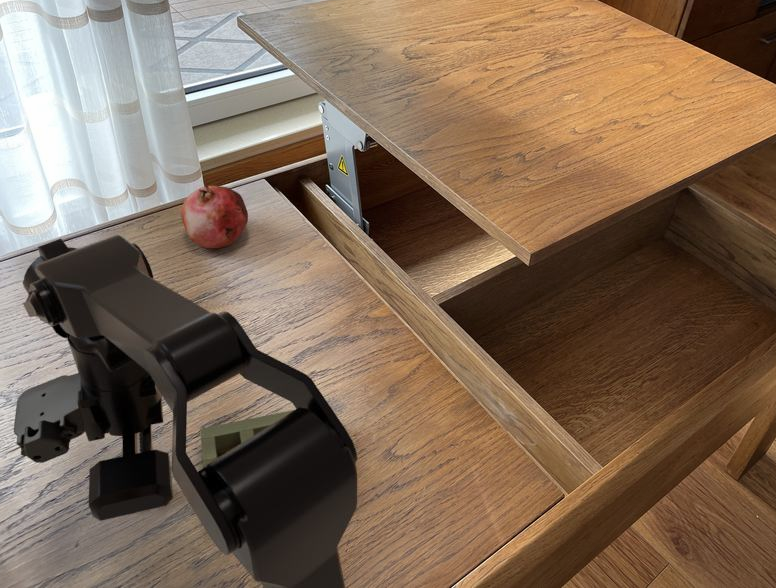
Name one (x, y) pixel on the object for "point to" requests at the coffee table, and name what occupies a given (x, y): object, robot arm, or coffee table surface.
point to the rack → (233, 434)
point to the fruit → (214, 216)
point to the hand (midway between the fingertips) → (144, 464)
